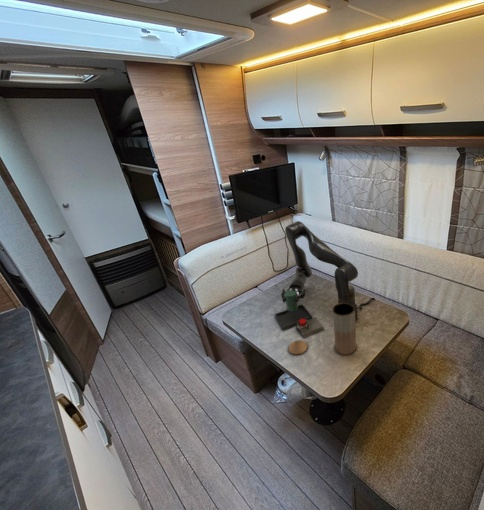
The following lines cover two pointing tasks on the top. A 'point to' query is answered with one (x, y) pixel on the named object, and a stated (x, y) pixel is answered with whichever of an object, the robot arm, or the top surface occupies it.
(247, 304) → the top surface
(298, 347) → the trivet
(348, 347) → the planter
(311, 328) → the box
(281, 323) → the baking tray
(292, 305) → the green peg
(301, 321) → the stop button
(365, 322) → the top surface
